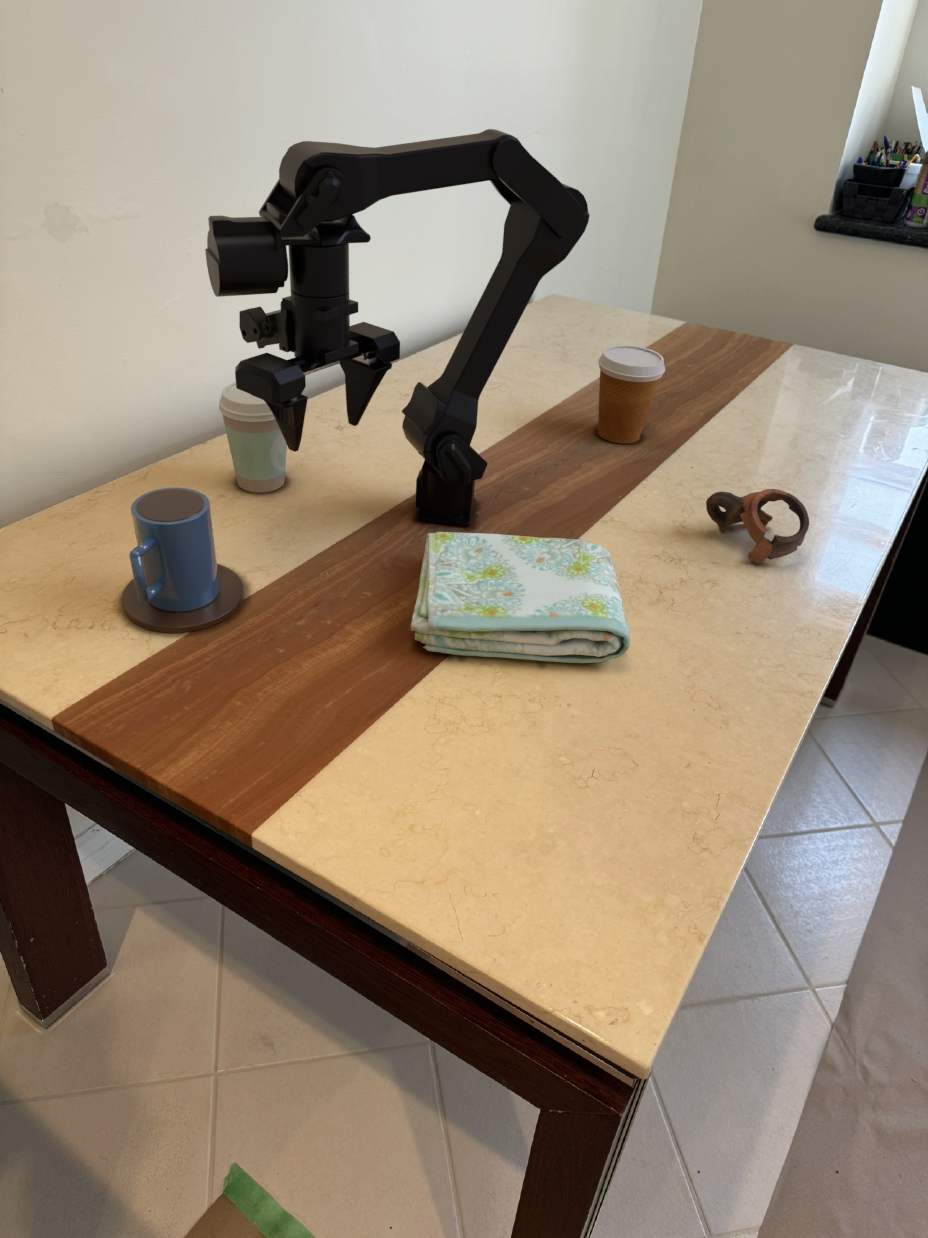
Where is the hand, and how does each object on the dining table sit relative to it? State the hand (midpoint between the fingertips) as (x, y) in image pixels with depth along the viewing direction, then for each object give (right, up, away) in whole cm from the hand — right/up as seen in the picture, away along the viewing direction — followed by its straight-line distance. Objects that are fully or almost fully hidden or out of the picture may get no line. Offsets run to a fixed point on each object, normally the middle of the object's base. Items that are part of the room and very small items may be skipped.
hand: (324, 436), depth 95 cm
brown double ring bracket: (+50, -11, +12) cm, 52 cm away
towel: (+21, -19, -3) cm, 28 cm away
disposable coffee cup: (+38, +8, +35) cm, 52 cm away
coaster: (-14, -18, -5) cm, 23 cm away
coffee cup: (-11, -3, +16) cm, 19 cm away
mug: (-14, -18, -7) cm, 24 cm away
